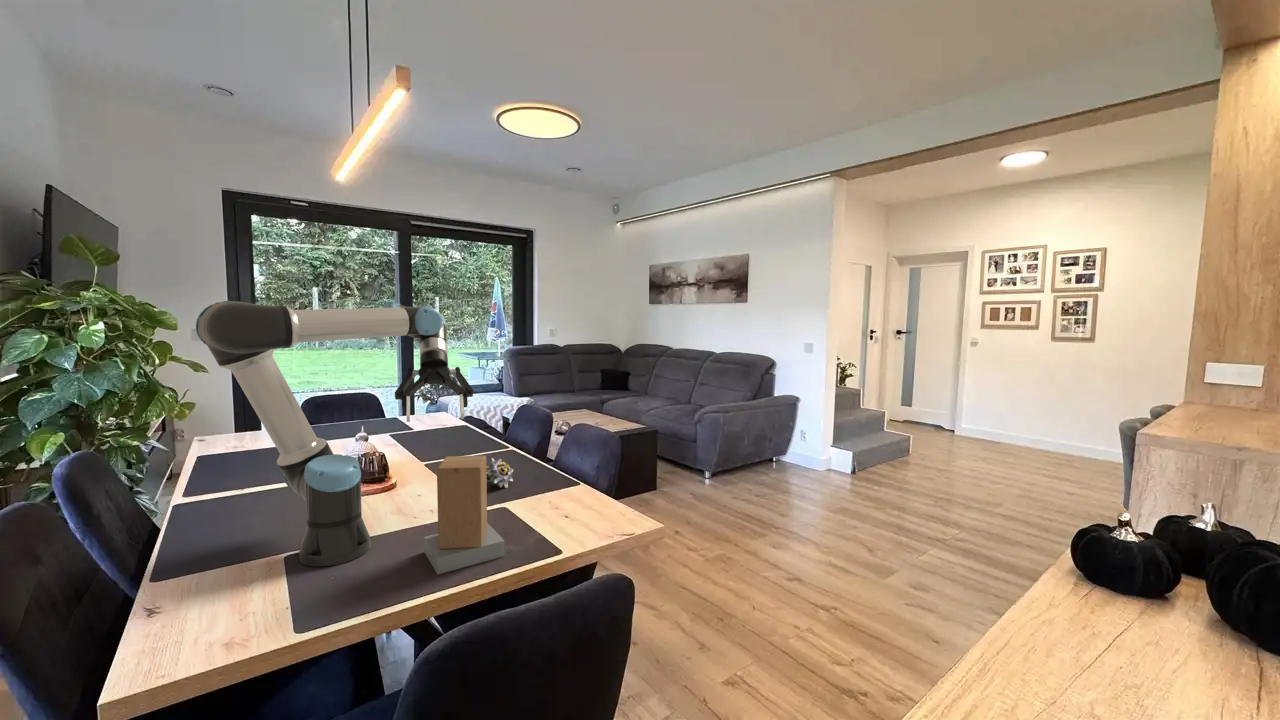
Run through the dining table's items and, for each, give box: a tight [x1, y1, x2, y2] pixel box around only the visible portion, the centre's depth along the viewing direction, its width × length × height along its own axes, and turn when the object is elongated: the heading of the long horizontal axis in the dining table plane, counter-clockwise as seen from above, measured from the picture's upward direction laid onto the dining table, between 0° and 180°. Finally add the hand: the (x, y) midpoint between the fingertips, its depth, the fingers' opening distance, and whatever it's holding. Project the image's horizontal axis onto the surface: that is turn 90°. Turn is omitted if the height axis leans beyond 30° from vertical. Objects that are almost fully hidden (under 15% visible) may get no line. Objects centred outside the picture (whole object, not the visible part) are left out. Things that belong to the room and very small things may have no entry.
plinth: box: [423, 522, 506, 575], centre depth 126 cm, size 16×13×4 cm
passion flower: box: [486, 457, 514, 489], centre depth 175 cm, size 11×11×12 cm
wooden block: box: [436, 454, 488, 549], centre depth 124 cm, size 10×10×20 cm
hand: (435, 417), depth 136 cm, fingers open, 13 cm apart
